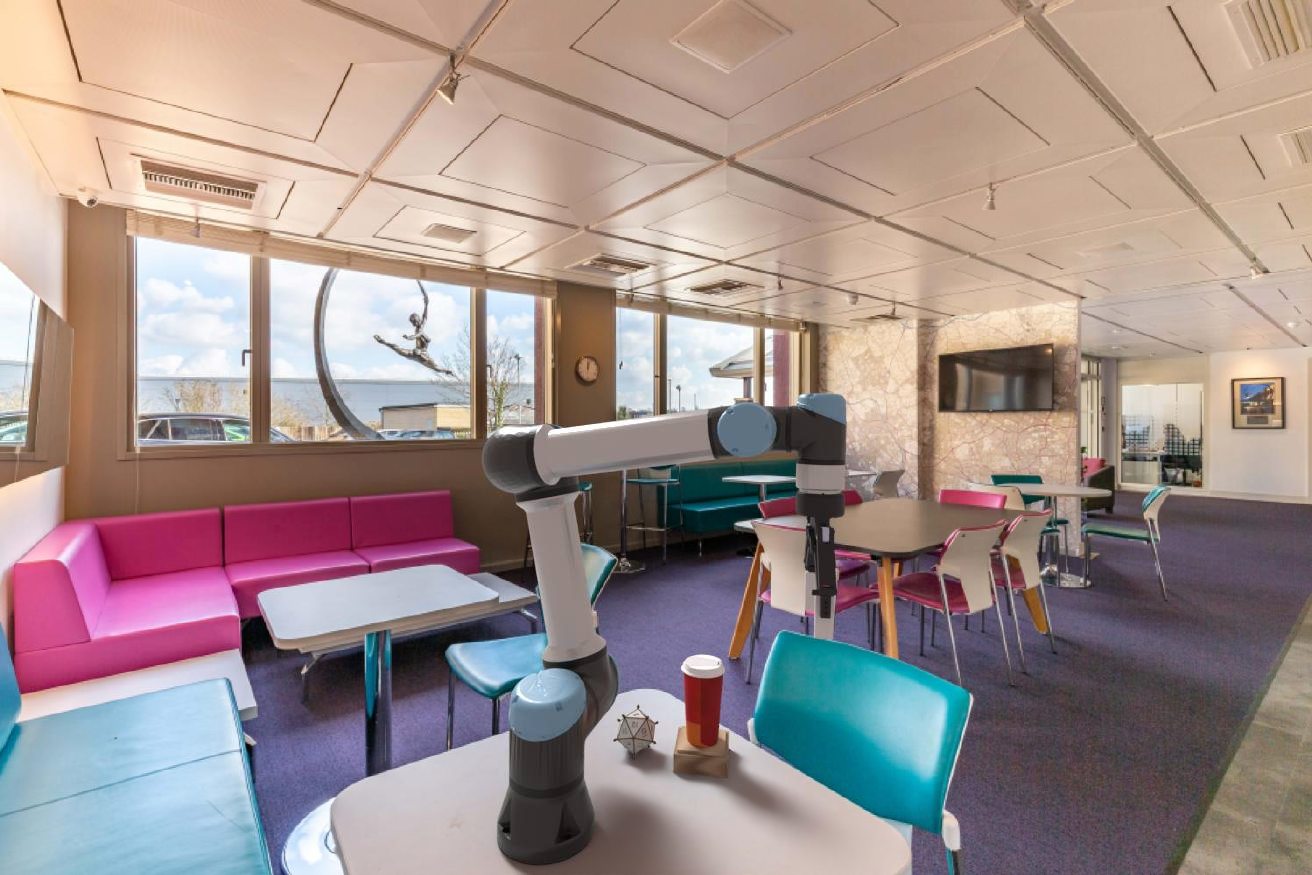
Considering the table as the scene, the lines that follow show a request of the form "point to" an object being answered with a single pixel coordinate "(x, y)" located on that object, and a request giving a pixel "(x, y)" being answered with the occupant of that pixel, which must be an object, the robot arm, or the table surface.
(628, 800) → the table surface
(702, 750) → the plinth
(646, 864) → the table surface
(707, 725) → the coffee cup
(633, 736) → the game die
